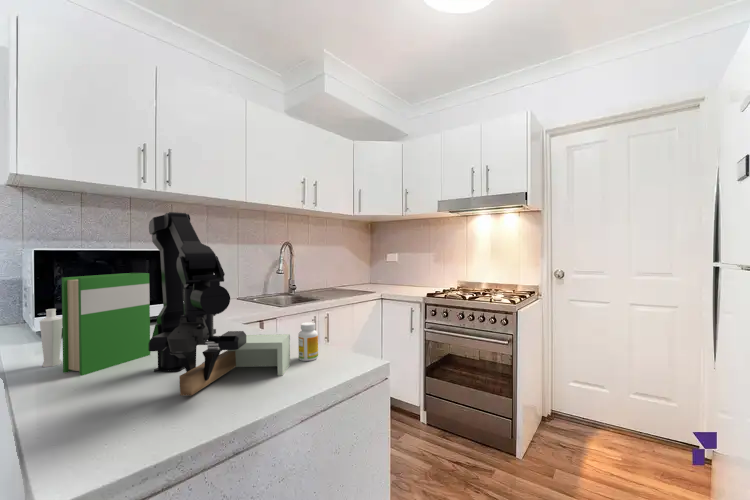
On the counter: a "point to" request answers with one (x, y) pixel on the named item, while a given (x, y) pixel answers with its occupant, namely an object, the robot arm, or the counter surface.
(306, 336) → the supplement bottle
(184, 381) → the walnut bar
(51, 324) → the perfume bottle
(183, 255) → the robot arm
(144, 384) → the counter surface
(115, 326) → the hardback book
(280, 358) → the sage shelf
